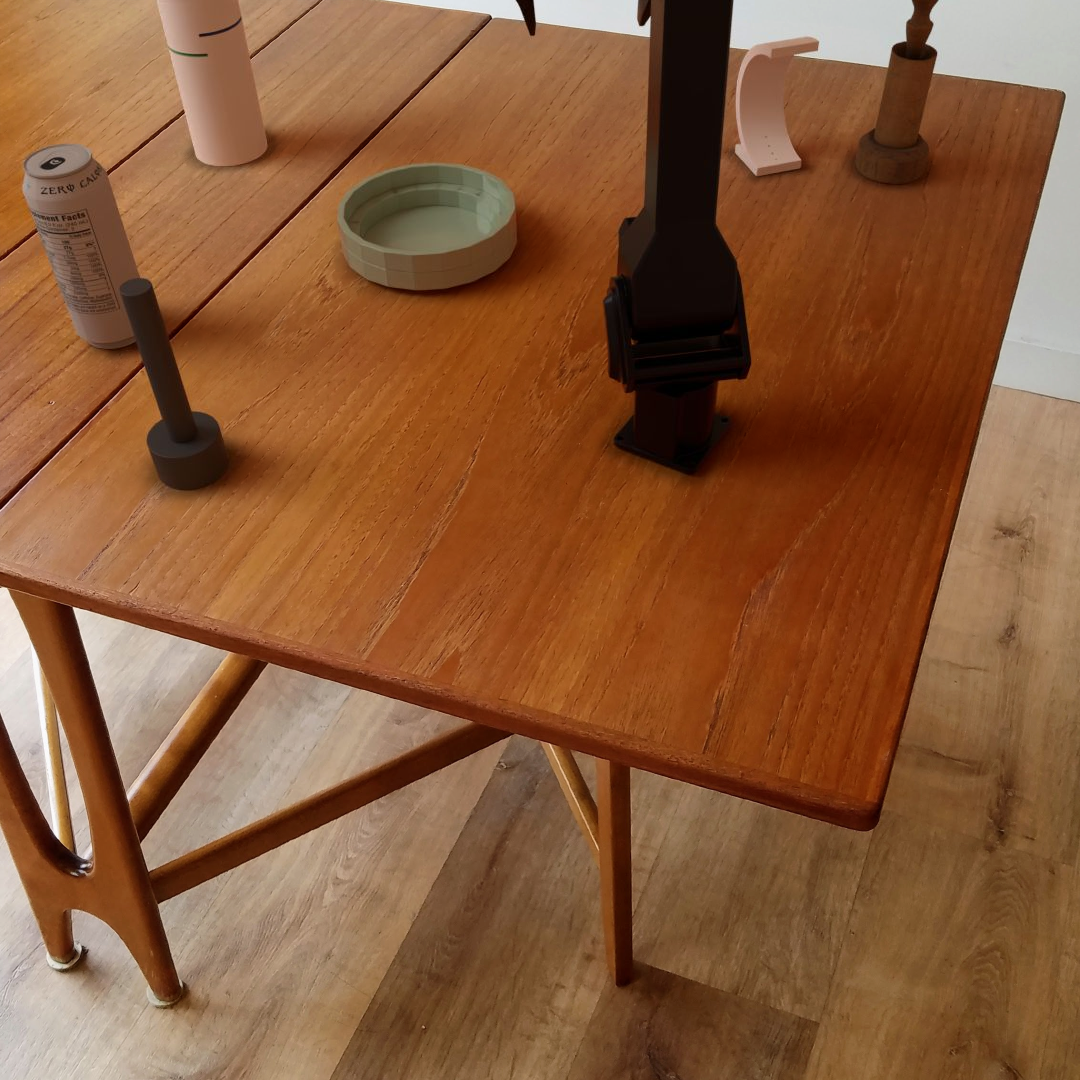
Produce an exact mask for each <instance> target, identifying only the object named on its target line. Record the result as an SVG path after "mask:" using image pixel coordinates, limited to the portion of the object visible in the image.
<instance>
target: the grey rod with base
mask: <svg viewBox="0 0 1080 1080" xmlns="http://www.w3.org/2000/svg"><path fill="white" fill-rule="evenodd" d="M119 292H120V295H121V298H122V301H123V304H124V307H125V310H126V313H127V316H128V319H129V322H130V325H131V327H132V330H133V333H134V336H135V339H136V342H135V343H136V345H137V347H138V351H139V354H140V357H141V360H142V363H143V366H144V369H145V372H146V375H147V377H148V381H149V384H150V386H151V389H152V393H153V395H154V399H155V402H156V405H157V407H158V410H159V413H160V416H161V419H160V420H159V421H157V422H156V423H155V424H154V425H152V427H151V428H150V430H149V431H148V433H147V436H146V439H145V440H146V446H147V448H148V451H149V453H150V457H151V459H152V462H153V465H154V468H155V471H156V474H157V476H158V479H159V481H160V482H161V483H163V484H164V485H165V486H167V487H169V488H171V489H175V490H180V491H181V490H183V491H185V490H186V491H187V490H188V491H189V490H195V489H200V488H203V487H206V486H208V485H210V484H212V483H214V482H216V481H217V480H218V479H219V478H221V477H222V476H223V474H224V473H225V472H226V471H227V468H228V466H229V463H230V462H229V460H230V459H229V455H228V451H227V447H226V445H225V440H224V438H223V434H222V431H221V427H220V424H219V422H218V420H217V419H216V418H215V417H213V416H212V415H210V414H208V413H206V412H202V411H195V410H192V409H191V405H190V402H189V399H188V395H187V392H186V389H185V386H184V383H183V379H182V376H181V373H180V369H179V367H178V363H177V360H176V357H175V353H174V351H173V347H172V344H171V341H170V338H169V334H168V331H167V328H166V324H165V322H164V321H165V320H164V318H163V315H162V311H161V308H160V306H159V303H158V298H157V296H156V292H155V289H154V286H153V283H152V281H151V280H149V279H147V278H145V277H140V278H134V279H130V280H128V281H126V282H124V283H123V284H122V285H121V286H120V288H119Z"/></svg>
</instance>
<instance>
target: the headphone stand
mask: <svg viewBox="0 0 1080 1080" xmlns="http://www.w3.org/2000/svg"><path fill="white" fill-rule="evenodd" d="M819 46H820V41H819V40H818V39H817V38H815V37H812V36H801V37H795V38H789V39H783V40H777V41H776V40H775V41H771V42H770V41H769V42H764V43H758V44H755V45H753V46H752V47H751V48H750V49H749V50H748V51H747V53H746V54H745V55H744V57H743V59H742V61H741V65H740V68H739V71H738V75H737V82H736V89H735V116H736V127H737V132H738V137H739V141H740V143H737V144H735V146H734V147H735V148H734V153H735V154H736V156H737V157H738V158H739V159H740V160H741V161H742V162H743V164H744V165H746V167H747V168H748V169H749V170H750V171H751V172H752V173H753V175H755V177H760V176H761V177H762V176H765V175H771V174H775V173H783V172H788V171H792V170H798V169H801V167H802V159H801V158H800V156H799V155H798V154H797V152H796V151H795V148H794V146H793V143H792V142H791V139H790V136H789V133H788V128H787V124H786V117H785V116H786V115H785V107H784V102H785V101H784V97H785V96H784V94H785V93H784V92H785V84H786V77H787V73H788V70H789V67H790V64H791V61H792V60H793V58H794V57H795V56H797V55H801V54H806V53H814V52H818V51H819Z"/></svg>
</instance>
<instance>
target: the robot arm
mask: <svg viewBox="0 0 1080 1080" xmlns="http://www.w3.org/2000/svg"><path fill="white" fill-rule="evenodd" d="M515 2H516V3H517V5H518V7H519V9H520V12H521V15H522V18H523V21H524V23H525V25H526V28H527V31H528V34H529V36H530V37H535V36H536V30H537V19H536V9H535V0H515ZM734 2H735V1H734V0H637V12H636V13H637V14H636V20H637V23H638V26H639V27H645V26H646V24H647V22H648V21H649V20H650V22H649V23H650V25H649V53H648V54H649V55H648V81H647V85H648V86H647V110H646V111H647V112H646V139H645V171H644V177H645V178H644V198H643V206H642V208H641V210H639V212H638V214H637V216H630V217H629V216H628V217H624V219H623V220H622V222H621V224H620V226H619V228H618V230H617V231H618V233H617V234H618V248H617V264H616V276H611V277H609V284H608V288H607V289H606V296H604V298H603V300H602V307H603V308H602V309H603V319H604V328H605V329H604V330H605V337H606V348H607V375H608V377H609V378H610V379H612V380H614V381H617V383H621V386H622V388H623V392H624V394H633V393H634V404H633V414H632V415H631V417H630V418H629V419H628V420H627V422H626V423H625V424H624V425H622V427H621V428H620V430H618V432H617V433H616V434H615V435H614V436H613V445H614V446H615V447H617V448H619V449H622V450H624V451H626V452H630V453H632V454H634V455H638V456H641V457H642V458H646V459H647V460H648V459H649V460H651V461H653V462H656V463H658V464H661V465H664V466H666V467H669V468H672V469H675V470H677V471H680V472H682V473H685V474H689V475H693V474H695V473H696V472H697V471H698V470H699V469H700V468H701V466H702V465H703V464H704V463H705V461H706V459H707V458H708V457H709V456H710V454H711V453H712V452H713V451H714V449H715V448H716V447H717V445H718V444H719V442H720V441H721V440H722V439H723V437H724V436H725V435H726V434H727V432H728V431H729V429H730V428H731V426H732V419H731V418H730V417H729V416H726V415H724V414H721V413H718V412H716V408H717V400H718V399H717V398H718V389H719V382H721V381H730V380H731V381H732V380H738V381H742V380H747V377H748V375H749V372H750V369H751V367H752V355H751V354H752V353H751V346H750V339H749V330H748V322H747V316H746V307H745V300H744V299H745V298H744V292H743V283H742V277H741V274H740V270H739V268H738V267H739V266H738V262H737V259H736V257H735V255H734V253H733V252H732V250H731V248H730V246H729V245H728V243H727V241H726V239H725V237H724V236H723V233H722V232H721V230H720V229H719V227H718V225H717V211H718V209H717V208H718V199H719V198H718V197H719V186H720V185H719V184H720V173H721V161H722V148H723V137H724V123H725V112H726V98H727V86H728V77H729V76H728V75H729V61H730V50H731V39H732V38H731V37H732V26H733V25H732V23H733V14H734Z"/></svg>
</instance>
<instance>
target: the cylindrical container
mask: <svg viewBox="0 0 1080 1080" xmlns="http://www.w3.org/2000/svg"><path fill="white" fill-rule="evenodd" d="M156 4H157V9H158V12H159V15H160V20H161V25H162V28H163V32H164V35H165V40H166V43H167V47H168V48H167V49H168V51H169V55H170V59H171V63H172V67H173V71H174V75H175V79H176V83H177V87H178V91H179V95H180V99H181V102H182V107H183V110H184V114H185V118H186V122H187V123H186V124H187V126H188V130H189V135H190V138H191V143H192V147H193V150H194V154H195V157H196V158H197V160H199V161H200V162H201V163H203V164H205V165H209V166H213V167H233V166H240V165H244V164H247V163H250V162H252V161H255V160H256V159H258V158H259V157H261V156H263V155H264V153H266V151H267V149H268V147H269V146H268V140H267V135H266V129H265V126H264V120H263V116H262V115H263V114H262V110H261V105H260V100H259V95H258V90H257V85H256V81H255V77H254V76H255V75H254V70H253V67H252V62H251V57H250V51H249V47H248V41H247V37H246V32H245V28H244V21H243V17H242V11H241V7H240V3H239V0H156Z"/></svg>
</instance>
